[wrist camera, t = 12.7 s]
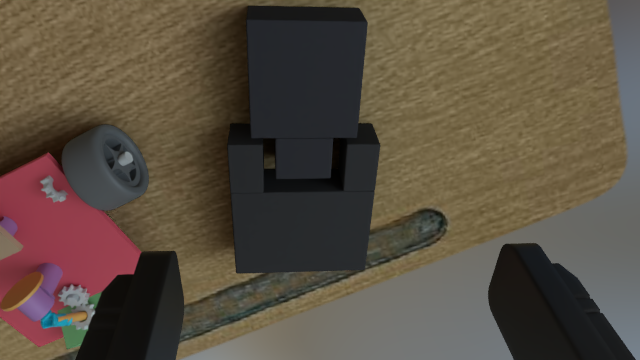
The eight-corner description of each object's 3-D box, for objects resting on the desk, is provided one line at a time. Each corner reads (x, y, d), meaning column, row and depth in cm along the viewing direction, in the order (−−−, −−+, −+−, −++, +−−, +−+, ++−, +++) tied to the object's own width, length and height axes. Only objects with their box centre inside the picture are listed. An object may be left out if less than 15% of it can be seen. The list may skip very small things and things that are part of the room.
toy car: (112, 102, 26) (68, 170, 20) (229, 250, 32) (220, 334, 27) (-103, 212, 29) (-194, 299, 23) (44, 330, 35) (1, 421, 29)
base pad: (359, 244, 33) (364, 270, 31) (238, 247, 32) (236, 274, 30) (372, 123, 28) (380, 144, 26) (230, 123, 27) (227, 145, 25)
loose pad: (347, 155, 29) (353, 178, 27) (253, 156, 29) (252, 179, 27) (359, 7, 24) (367, 21, 22) (247, 5, 24) (245, 19, 22)
